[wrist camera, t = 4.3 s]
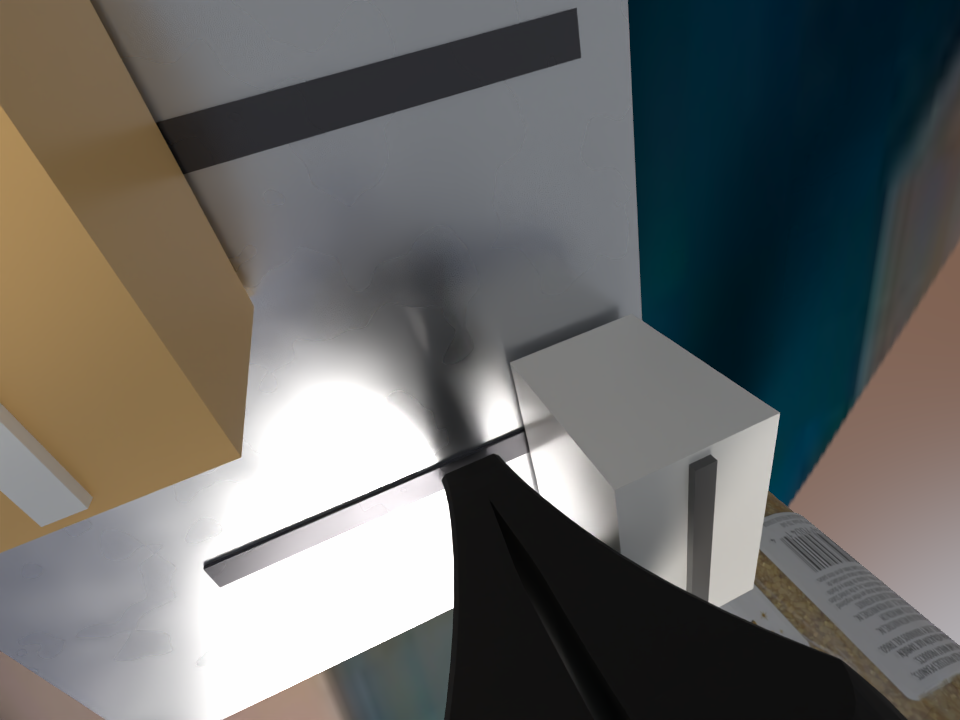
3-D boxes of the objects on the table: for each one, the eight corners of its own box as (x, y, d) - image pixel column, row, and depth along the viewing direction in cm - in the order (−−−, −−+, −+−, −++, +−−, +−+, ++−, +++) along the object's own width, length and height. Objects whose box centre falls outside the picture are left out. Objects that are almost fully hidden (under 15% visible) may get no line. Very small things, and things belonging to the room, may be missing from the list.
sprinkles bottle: (614, 522, 19) (1102, 1164, 8) (694, 429, 18) (1389, 1015, 7) (680, 545, 21) (1123, 1057, 10) (754, 464, 20) (1337, 936, 9)
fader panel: (168, 676, 15) (154, 756, 13) (-897, -198, 5) (-1580, -360, 3) (614, 471, 17) (653, 515, 15) (530, -375, 7) (611, -514, 6)
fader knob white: (543, 512, 13) (635, 661, 10) (509, 362, 11) (620, 497, 7) (640, 467, 14) (759, 594, 11) (631, 313, 11) (788, 418, 8)
